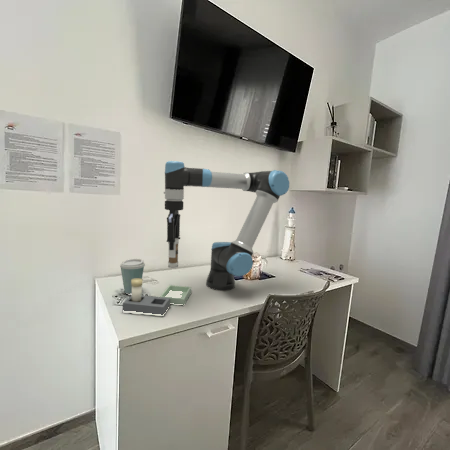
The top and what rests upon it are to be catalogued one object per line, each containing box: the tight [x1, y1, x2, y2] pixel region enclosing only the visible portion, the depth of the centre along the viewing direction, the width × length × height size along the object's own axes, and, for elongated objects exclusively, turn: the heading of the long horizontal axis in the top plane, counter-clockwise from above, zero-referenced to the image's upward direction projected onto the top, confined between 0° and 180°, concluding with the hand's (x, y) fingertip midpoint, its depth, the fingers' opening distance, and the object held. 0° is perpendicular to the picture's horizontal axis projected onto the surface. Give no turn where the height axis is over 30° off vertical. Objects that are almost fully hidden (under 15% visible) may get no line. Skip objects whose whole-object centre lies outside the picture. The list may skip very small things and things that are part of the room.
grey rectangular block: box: [122, 294, 171, 315], centre depth 104 cm, size 16×9×4 cm, turn 85°
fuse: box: [131, 278, 144, 302], centre depth 104 cm, size 4×4×12 cm
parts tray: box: [159, 284, 192, 306], centre depth 118 cm, size 11×15×3 cm
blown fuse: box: [167, 238, 180, 269], centre depth 110 cm, size 4×4×12 cm
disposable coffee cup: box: [119, 258, 146, 294], centre depth 120 cm, size 11×11×15 cm
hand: (173, 255), depth 110 cm, fingers closed on blown fuse, 4 cm apart
